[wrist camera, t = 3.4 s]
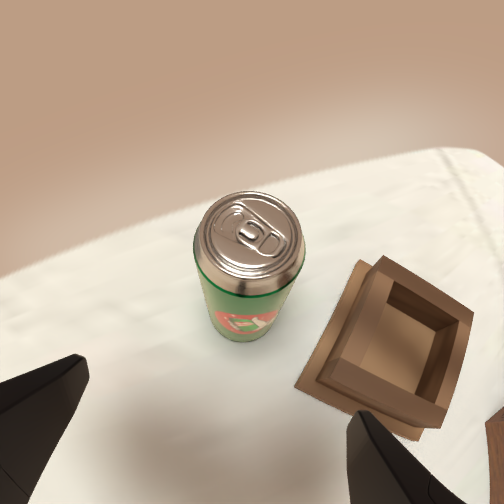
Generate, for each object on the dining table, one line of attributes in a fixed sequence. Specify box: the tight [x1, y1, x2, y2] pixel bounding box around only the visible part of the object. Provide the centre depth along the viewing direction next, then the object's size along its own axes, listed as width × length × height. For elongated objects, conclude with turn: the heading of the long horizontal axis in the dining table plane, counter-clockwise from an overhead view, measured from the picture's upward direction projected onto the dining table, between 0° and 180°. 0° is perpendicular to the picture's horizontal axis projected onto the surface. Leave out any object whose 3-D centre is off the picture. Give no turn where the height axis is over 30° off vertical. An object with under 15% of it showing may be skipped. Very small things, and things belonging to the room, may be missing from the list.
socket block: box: [294, 255, 474, 441], centre depth 20 cm, size 12×12×4 cm
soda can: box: [193, 191, 306, 342], centre depth 18 cm, size 5×5×12 cm
